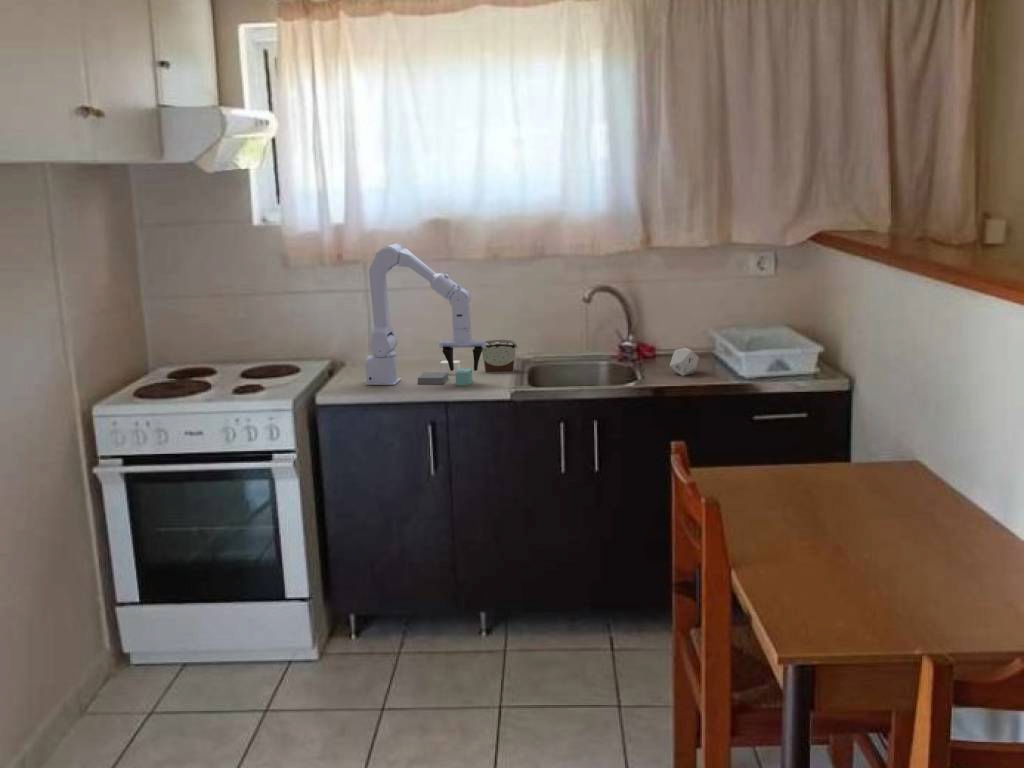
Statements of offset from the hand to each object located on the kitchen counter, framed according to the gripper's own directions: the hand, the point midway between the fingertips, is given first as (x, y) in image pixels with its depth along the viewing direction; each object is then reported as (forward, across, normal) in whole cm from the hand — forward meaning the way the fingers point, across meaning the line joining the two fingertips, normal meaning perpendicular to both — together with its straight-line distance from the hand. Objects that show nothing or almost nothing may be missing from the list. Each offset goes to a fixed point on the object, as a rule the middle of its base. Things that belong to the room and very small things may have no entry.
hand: (463, 370), depth 320 cm
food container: (+4, +8, +18) cm, 20 cm away
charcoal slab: (+5, -11, +2) cm, 12 cm away
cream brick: (+4, -8, +14) cm, 16 cm away
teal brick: (+4, 0, 0) cm, 4 cm away
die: (+5, +68, +14) cm, 70 cm away
